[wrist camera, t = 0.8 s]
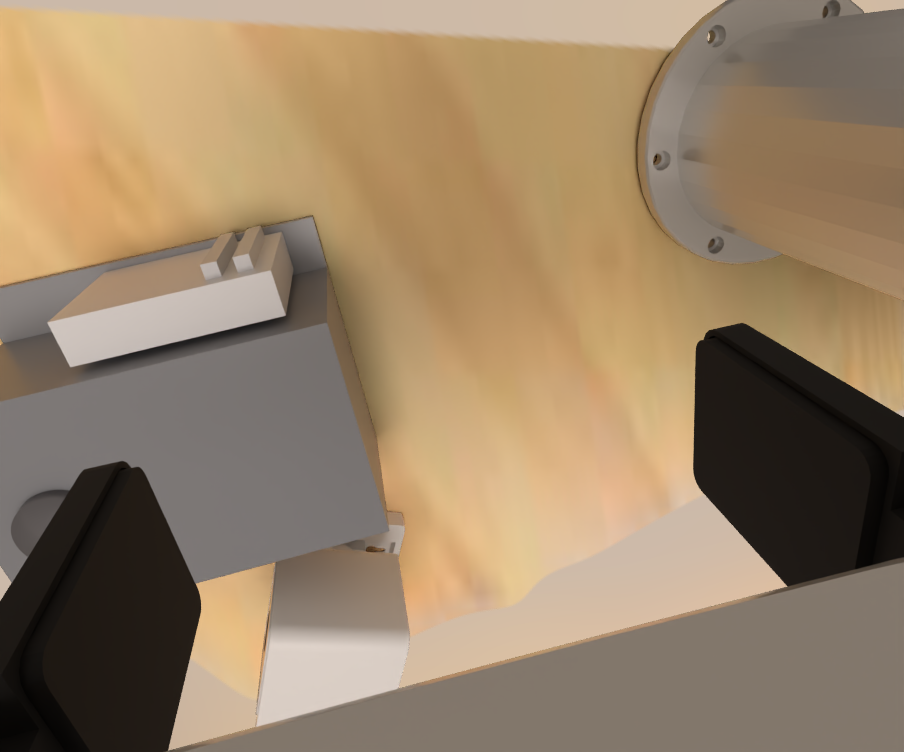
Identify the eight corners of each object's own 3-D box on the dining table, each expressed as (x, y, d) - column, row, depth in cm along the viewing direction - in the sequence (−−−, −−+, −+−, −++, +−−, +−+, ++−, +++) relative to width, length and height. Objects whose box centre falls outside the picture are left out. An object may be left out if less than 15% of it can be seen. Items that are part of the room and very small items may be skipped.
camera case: (312, 215, 29) (307, 264, 22) (376, 438, 35) (390, 540, 27) (-20, 291, 28) (-151, 371, 20) (101, 509, 34) (35, 636, 26)
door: (277, 218, 28) (265, 254, 23) (293, 269, 30) (285, 315, 24) (98, 259, 28) (39, 306, 22) (121, 309, 29) (70, 367, 23)
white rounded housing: (282, 496, 35) (268, 638, 26) (405, 506, 37) (430, 642, 28) (269, 584, 38) (252, 740, 29) (385, 589, 39) (402, 738, 31)
